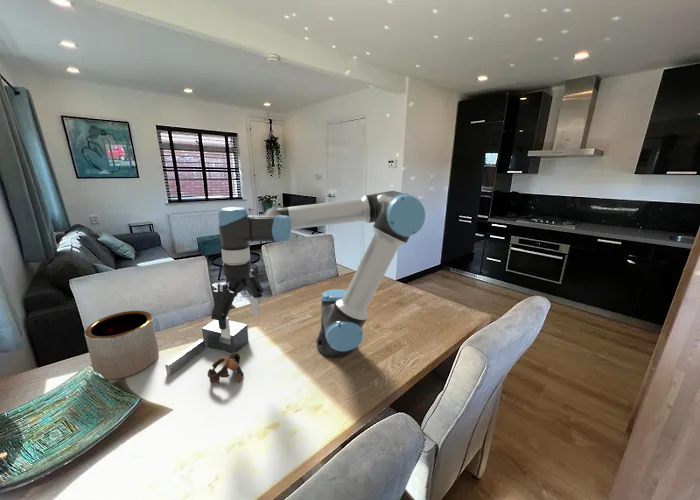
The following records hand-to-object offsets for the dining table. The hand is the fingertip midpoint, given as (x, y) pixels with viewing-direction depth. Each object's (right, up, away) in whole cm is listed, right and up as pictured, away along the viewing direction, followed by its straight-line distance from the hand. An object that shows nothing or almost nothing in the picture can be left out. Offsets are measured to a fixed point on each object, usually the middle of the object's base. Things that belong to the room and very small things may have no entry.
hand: (241, 325), depth 87 cm
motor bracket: (-17, -15, +14) cm, 27 cm away
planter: (-43, -16, +10) cm, 47 cm away
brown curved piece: (-6, -19, +5) cm, 20 cm away
